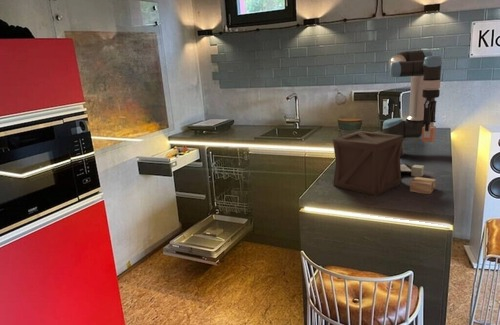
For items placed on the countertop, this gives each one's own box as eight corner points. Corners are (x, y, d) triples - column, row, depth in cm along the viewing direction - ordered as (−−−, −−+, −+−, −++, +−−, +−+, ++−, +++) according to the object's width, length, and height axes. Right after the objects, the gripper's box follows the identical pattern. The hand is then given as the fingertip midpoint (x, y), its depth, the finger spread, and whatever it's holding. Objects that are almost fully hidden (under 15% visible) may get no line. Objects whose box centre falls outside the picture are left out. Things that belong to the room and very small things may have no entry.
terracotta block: (424, 139, 194) (425, 125, 192) (434, 140, 191) (435, 126, 189) (421, 141, 190) (422, 127, 188) (432, 142, 187) (433, 128, 185)
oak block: (415, 186, 191) (415, 176, 190) (434, 189, 185) (435, 179, 184) (409, 191, 184) (410, 181, 183) (429, 194, 179) (430, 184, 177)
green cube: (413, 173, 210) (414, 164, 208) (423, 174, 207) (424, 165, 205) (411, 175, 206) (411, 167, 204) (421, 177, 203) (421, 168, 201)
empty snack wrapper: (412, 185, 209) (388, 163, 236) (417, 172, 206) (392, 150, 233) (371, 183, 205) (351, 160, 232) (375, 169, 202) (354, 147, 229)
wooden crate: (359, 174, 215) (358, 130, 208) (402, 182, 197) (403, 134, 190) (333, 186, 199) (332, 139, 192) (377, 196, 181) (378, 144, 174)
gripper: (427, 87, 193) (425, 132, 199) (417, 91, 180) (415, 139, 186) (444, 87, 188) (441, 133, 194) (434, 90, 175) (431, 140, 181)
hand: (428, 136), depth 190 cm, fingers closed on terracotta block, 5 cm apart
